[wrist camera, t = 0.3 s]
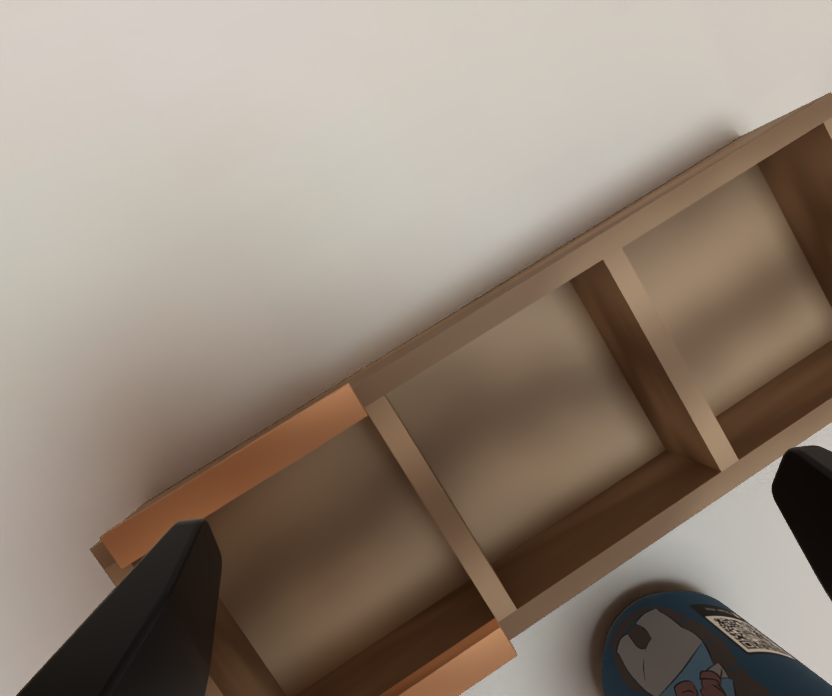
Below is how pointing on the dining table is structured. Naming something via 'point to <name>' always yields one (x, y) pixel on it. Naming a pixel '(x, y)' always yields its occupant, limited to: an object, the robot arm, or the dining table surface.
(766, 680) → the soda can
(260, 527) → the rack
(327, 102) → the dining table surface
